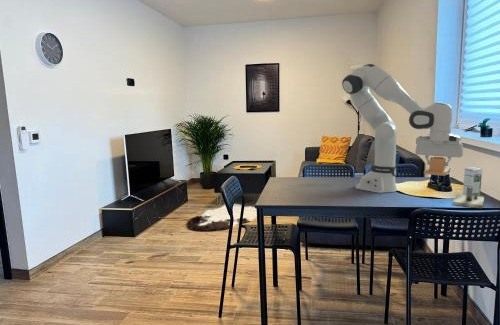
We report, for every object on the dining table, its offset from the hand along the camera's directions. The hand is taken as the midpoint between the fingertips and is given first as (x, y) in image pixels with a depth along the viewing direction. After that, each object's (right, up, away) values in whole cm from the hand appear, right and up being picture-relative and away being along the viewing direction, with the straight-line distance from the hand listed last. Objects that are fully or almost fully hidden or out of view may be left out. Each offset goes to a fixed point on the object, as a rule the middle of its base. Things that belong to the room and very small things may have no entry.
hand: (437, 165), depth 168 cm
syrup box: (+28, -16, +18) cm, 37 cm away
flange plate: (0, -3, +1) cm, 4 cm away
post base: (+18, -18, +4) cm, 26 cm away
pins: (+19, -17, +3) cm, 25 cm away
